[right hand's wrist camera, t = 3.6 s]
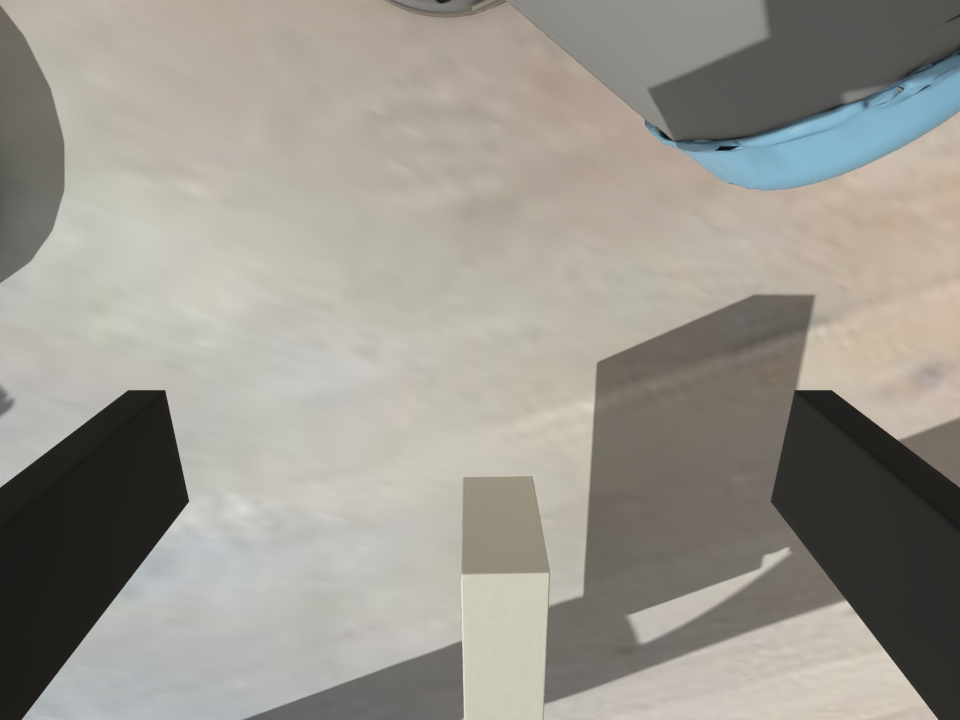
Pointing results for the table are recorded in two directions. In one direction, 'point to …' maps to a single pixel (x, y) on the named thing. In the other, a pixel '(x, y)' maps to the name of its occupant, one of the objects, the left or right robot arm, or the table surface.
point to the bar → (503, 599)
